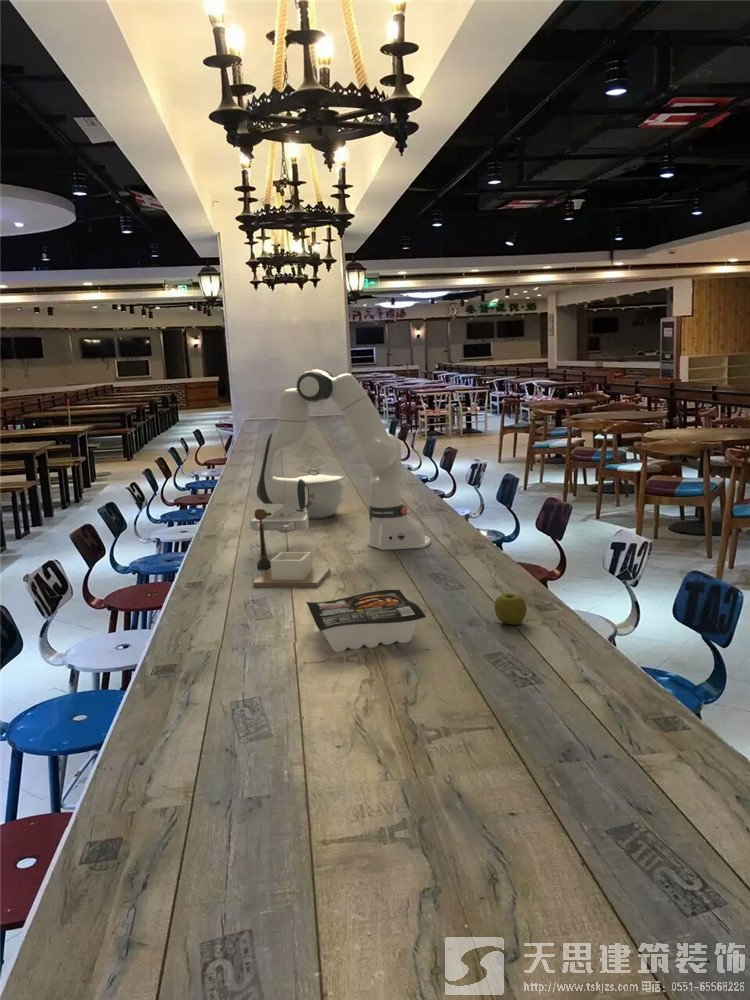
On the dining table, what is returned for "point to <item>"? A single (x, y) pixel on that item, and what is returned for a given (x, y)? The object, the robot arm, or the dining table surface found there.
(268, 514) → the wooden tabletop sculpture
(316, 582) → the utensil holder
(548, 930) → the dining table surface
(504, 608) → the apple
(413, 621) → the food packaging
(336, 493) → the chamber pot
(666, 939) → the dining table surface
